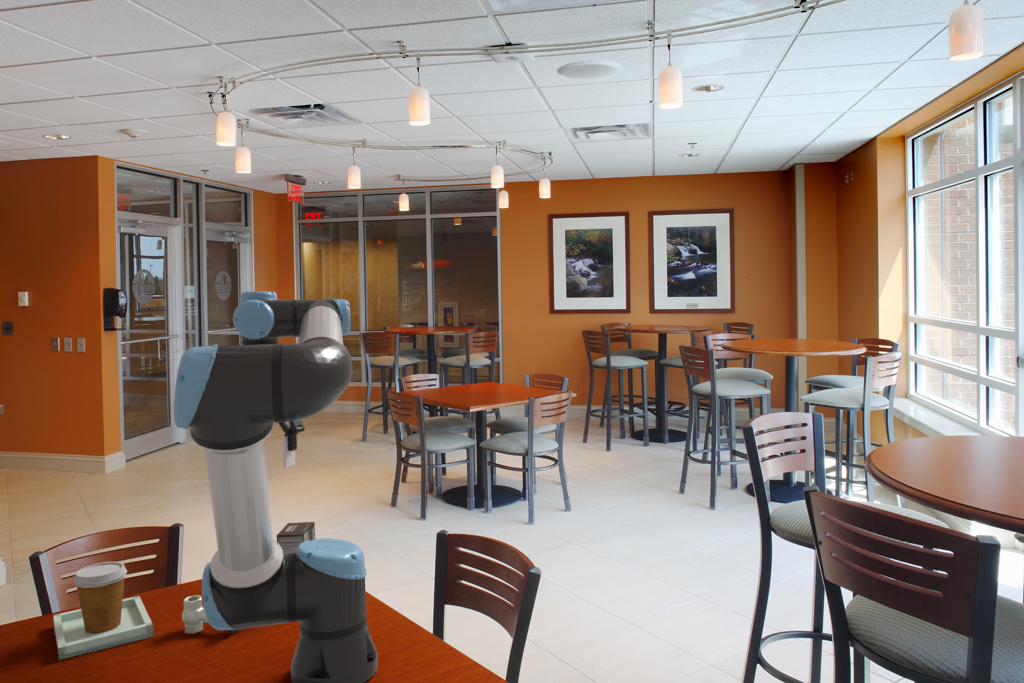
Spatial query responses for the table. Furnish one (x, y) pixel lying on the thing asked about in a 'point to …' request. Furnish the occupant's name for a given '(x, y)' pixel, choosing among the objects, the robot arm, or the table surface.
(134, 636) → the tray
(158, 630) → the table surface
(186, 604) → the valve
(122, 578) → the disposable coffee cup
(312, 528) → the coffee box
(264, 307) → the robot arm
